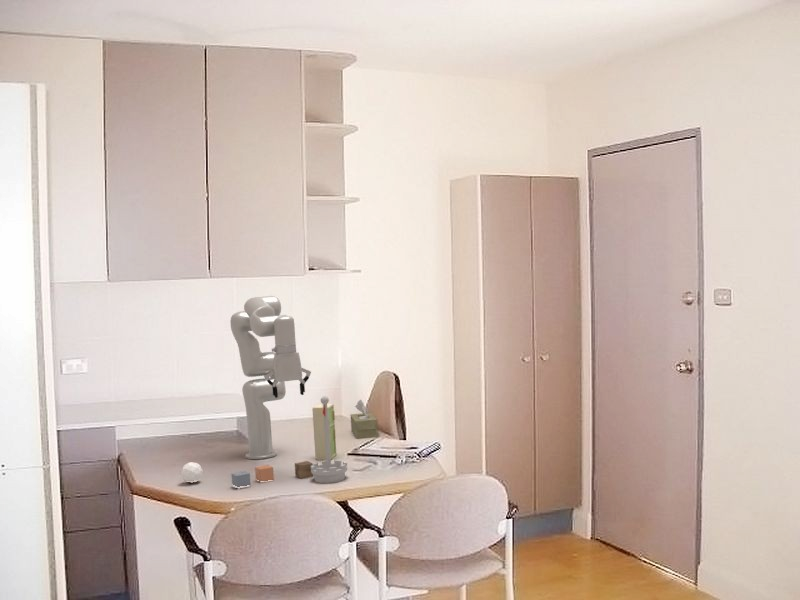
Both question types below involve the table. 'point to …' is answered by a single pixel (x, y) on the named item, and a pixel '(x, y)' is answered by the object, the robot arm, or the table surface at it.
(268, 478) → the terracotta block
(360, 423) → the tissue box
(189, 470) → the geometric ball
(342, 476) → the flag stand
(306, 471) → the walnut block
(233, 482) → the slate-grey block
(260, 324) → the robot arm
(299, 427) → the table surface
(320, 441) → the green and beige carton
